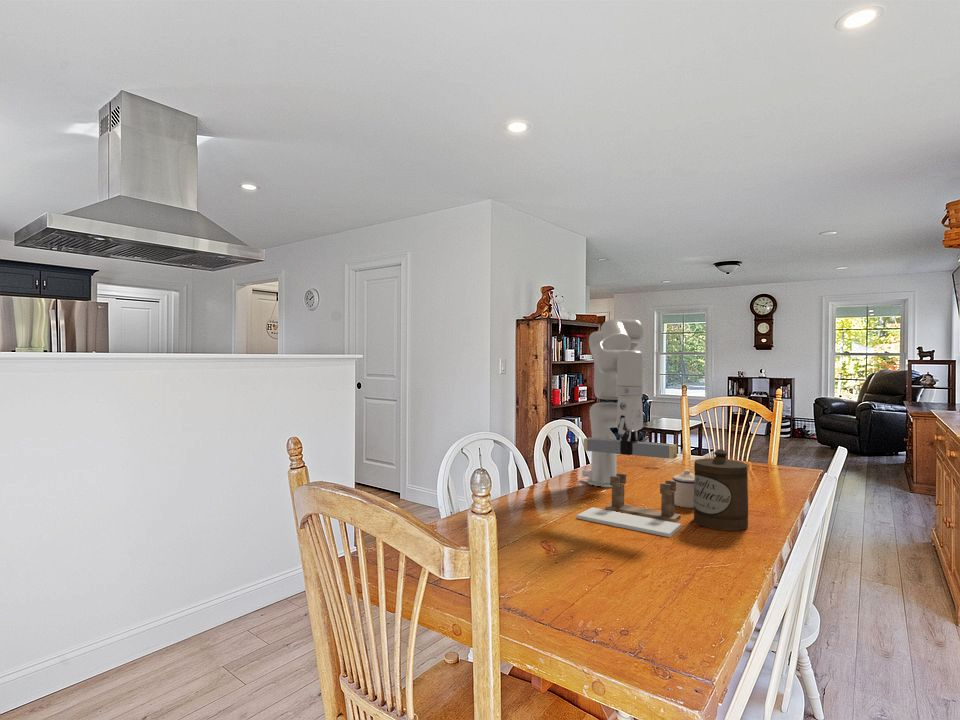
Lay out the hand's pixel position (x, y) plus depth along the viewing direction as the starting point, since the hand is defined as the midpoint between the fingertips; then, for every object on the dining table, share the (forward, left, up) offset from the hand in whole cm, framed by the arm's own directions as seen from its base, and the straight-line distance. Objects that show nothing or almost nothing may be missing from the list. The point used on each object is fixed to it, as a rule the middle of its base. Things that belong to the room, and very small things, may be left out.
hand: (628, 452), depth 161 cm
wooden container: (+22, +17, -21) cm, 35 cm away
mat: (0, 0, -21) cm, 21 cm away
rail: (0, 0, 0) cm, 0 cm away
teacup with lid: (+8, +33, -21) cm, 40 cm away
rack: (0, +12, -21) cm, 24 cm away
